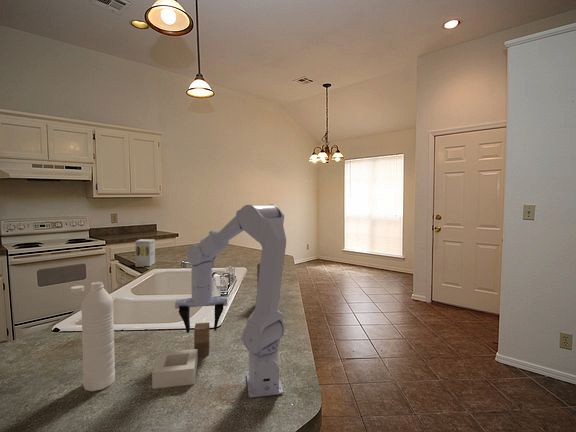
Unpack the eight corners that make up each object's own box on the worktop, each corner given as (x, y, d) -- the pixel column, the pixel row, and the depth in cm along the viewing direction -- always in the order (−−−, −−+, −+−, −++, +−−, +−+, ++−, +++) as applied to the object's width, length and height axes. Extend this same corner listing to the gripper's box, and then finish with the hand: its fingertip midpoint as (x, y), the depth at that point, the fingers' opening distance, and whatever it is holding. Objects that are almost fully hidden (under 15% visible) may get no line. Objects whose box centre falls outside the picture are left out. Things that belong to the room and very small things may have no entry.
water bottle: (105, 372, 77) (103, 277, 75) (120, 380, 73) (118, 281, 72) (67, 391, 69) (63, 286, 68) (81, 401, 66) (78, 290, 64)
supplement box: (134, 267, 190) (134, 241, 189) (140, 263, 199) (140, 238, 198) (150, 266, 191) (150, 241, 190) (155, 263, 200) (155, 239, 199)
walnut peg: (208, 355, 86) (208, 328, 85) (194, 356, 85) (194, 329, 85) (209, 348, 90) (209, 322, 89) (195, 349, 89) (195, 323, 88)
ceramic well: (194, 384, 72) (194, 368, 72) (152, 388, 70) (152, 372, 70) (197, 362, 82) (197, 348, 81) (160, 366, 80) (160, 352, 79)
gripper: (227, 280, 92) (227, 322, 92) (177, 281, 89) (178, 326, 89) (227, 286, 85) (227, 333, 86) (173, 289, 82) (174, 337, 83)
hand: (201, 330), depth 87 cm, fingers open, 7 cm apart
